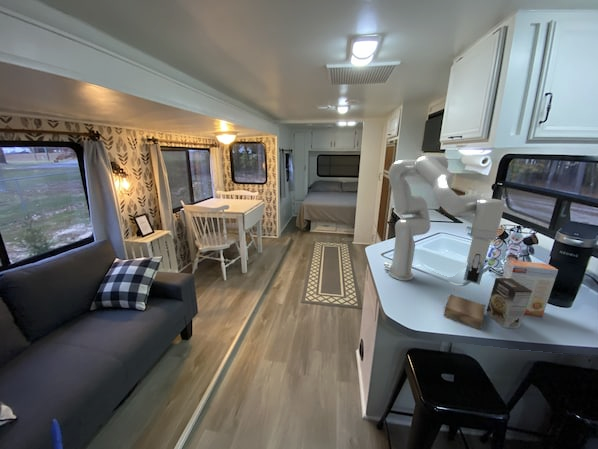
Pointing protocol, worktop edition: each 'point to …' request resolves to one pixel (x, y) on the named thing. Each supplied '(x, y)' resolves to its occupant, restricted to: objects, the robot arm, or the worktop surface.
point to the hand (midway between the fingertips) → (472, 277)
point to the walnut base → (465, 311)
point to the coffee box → (508, 302)
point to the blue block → (478, 276)
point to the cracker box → (533, 282)
